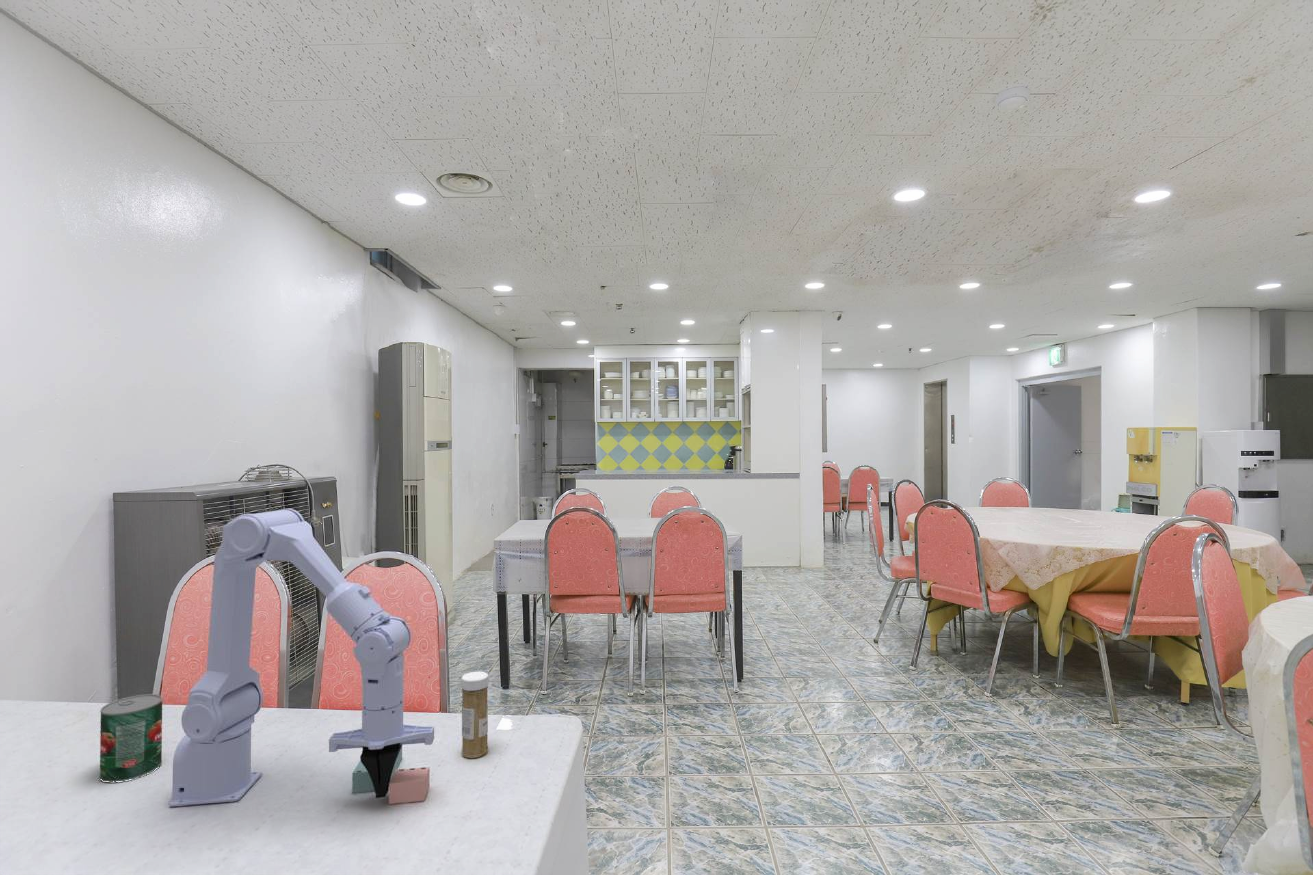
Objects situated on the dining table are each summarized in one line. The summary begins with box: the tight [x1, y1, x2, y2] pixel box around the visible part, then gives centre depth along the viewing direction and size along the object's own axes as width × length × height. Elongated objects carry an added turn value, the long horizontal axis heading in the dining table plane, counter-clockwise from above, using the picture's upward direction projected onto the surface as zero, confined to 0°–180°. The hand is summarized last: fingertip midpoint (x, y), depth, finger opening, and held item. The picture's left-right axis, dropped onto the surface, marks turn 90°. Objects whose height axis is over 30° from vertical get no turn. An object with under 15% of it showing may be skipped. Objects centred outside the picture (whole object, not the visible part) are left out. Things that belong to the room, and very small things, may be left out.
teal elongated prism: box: [351, 746, 403, 793], centre depth 101 cm, size 5×10×3 cm, turn 9°
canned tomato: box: [99, 693, 164, 782], centre depth 103 cm, size 8×8×11 cm
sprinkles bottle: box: [460, 671, 490, 759], centre depth 109 cm, size 5×5×14 cm
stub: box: [388, 766, 431, 805], centre depth 95 cm, size 5×4×3 cm
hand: (382, 794), depth 94 cm, fingers closed
